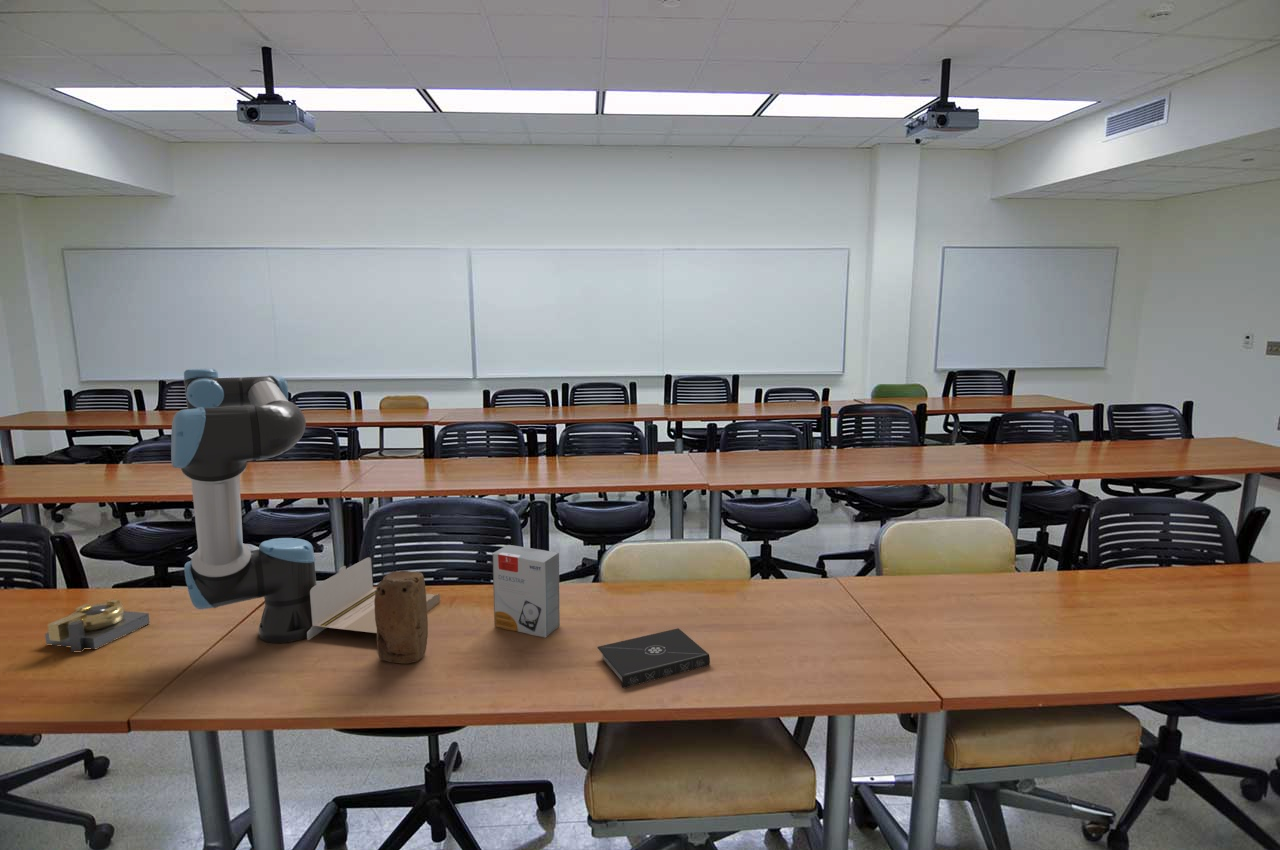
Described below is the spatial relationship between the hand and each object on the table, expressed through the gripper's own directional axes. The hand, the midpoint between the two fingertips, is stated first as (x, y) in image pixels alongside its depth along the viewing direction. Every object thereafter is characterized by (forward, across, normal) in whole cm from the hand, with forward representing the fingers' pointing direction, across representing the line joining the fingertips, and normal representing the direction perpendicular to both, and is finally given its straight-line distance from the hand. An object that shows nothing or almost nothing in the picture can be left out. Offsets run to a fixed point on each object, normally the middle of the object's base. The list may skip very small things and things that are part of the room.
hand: (214, 512), depth 172 cm
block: (+27, +18, +65) cm, 73 cm away
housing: (+26, +22, -16) cm, 38 cm away
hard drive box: (+27, -2, +88) cm, 92 cm away
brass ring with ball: (+23, +24, -16) cm, 37 cm away
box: (+27, +1, +48) cm, 55 cm away
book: (+27, +9, +122) cm, 126 cm away
